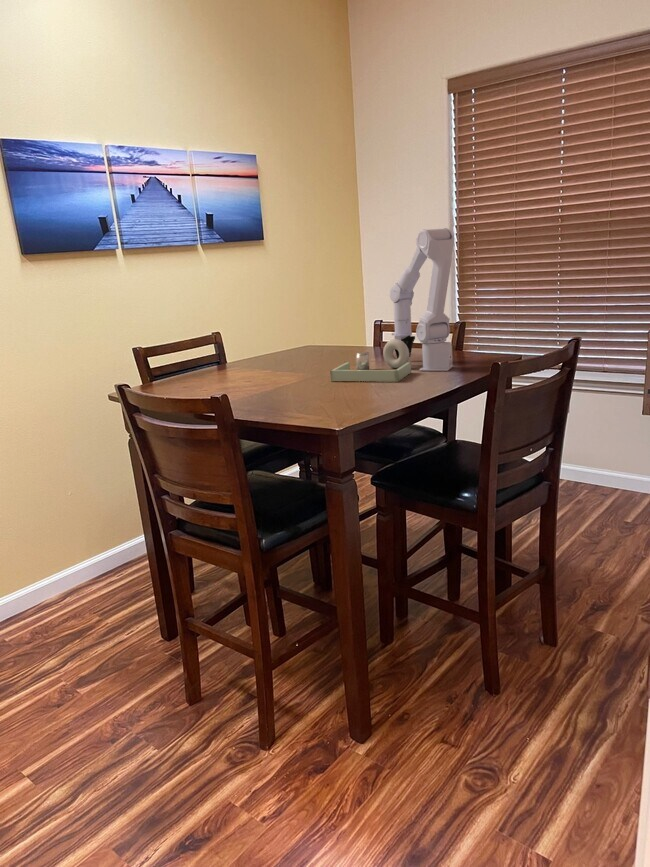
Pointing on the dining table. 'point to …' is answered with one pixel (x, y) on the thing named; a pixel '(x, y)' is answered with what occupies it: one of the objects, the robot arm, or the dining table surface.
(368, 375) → the tray
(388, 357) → the donut
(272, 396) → the dining table surface
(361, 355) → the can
